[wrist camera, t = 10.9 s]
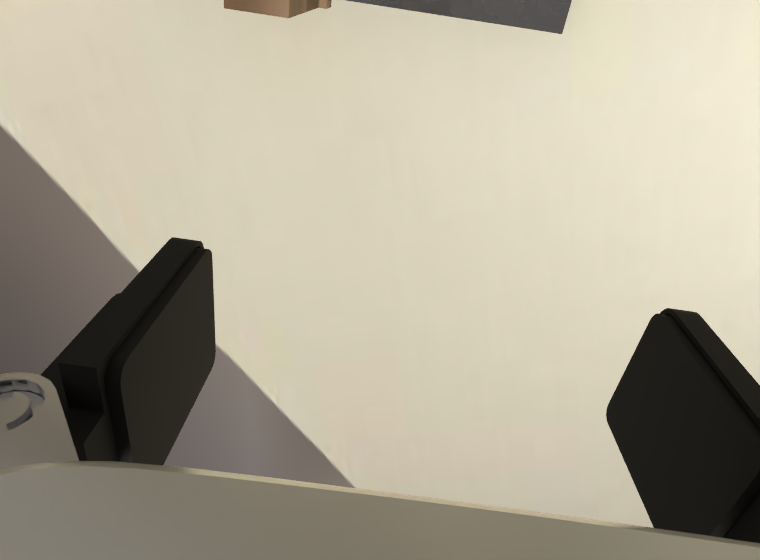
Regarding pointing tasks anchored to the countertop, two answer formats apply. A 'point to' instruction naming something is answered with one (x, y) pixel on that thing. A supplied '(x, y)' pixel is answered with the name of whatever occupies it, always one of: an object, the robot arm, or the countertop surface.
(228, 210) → the countertop surface
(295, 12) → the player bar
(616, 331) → the countertop surface
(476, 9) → the rail
